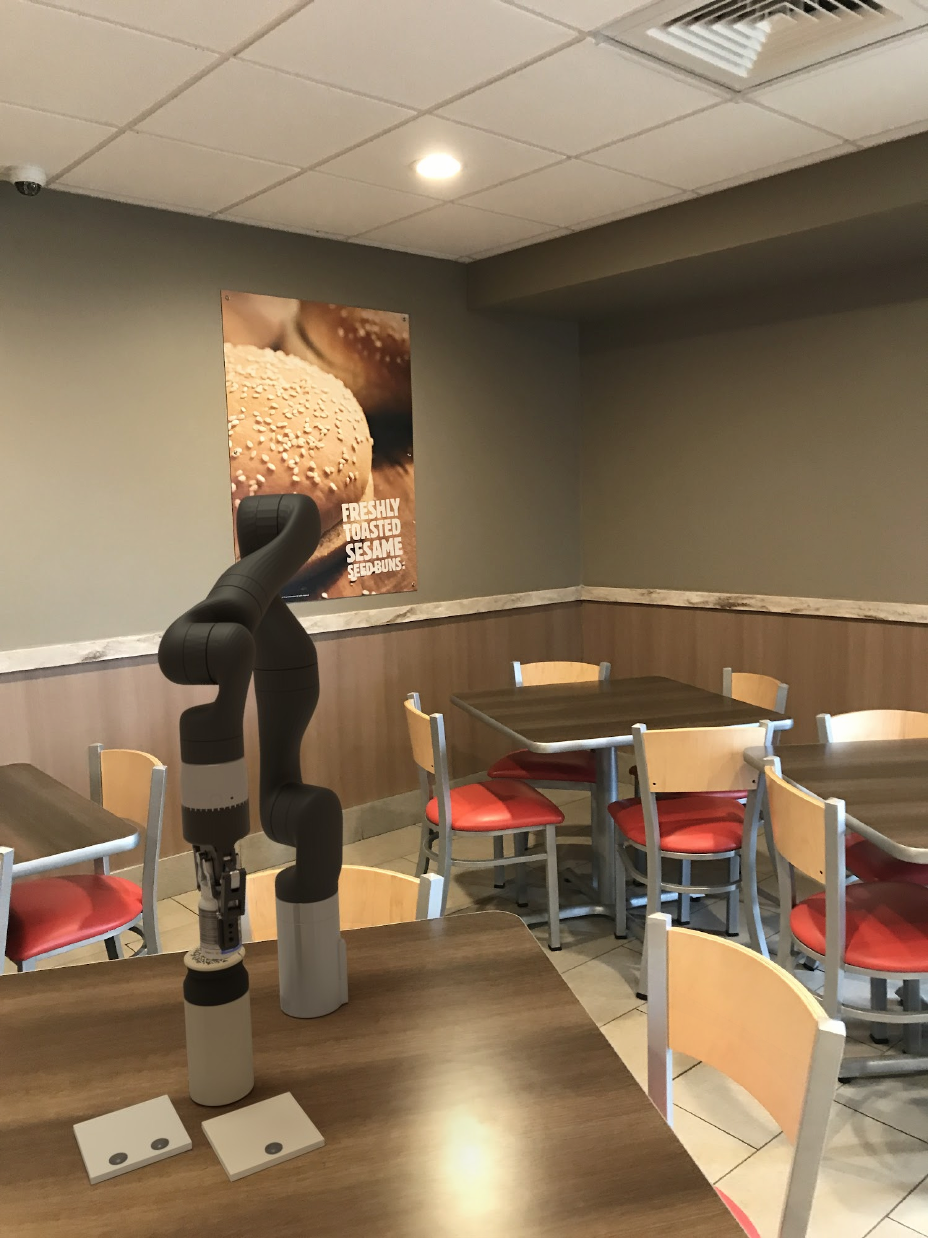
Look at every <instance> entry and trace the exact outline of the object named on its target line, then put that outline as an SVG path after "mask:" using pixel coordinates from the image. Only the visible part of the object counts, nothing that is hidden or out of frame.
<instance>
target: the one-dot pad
mask: <svg viewBox="0 0 928 1238" xmlns="http://www.w3.org/2000/svg"><path fill="white" fill-rule="evenodd" d="M201 1130H202V1132H203V1133H204V1135H205V1137H206V1139H207V1140H208V1142H209V1144H210V1147H212V1150H213V1152H214V1153H215V1155H216V1157H217V1158H218V1160H219V1162H220V1165H221V1166H222V1168H223V1170H224V1171H225V1173H226V1175H227V1177H228V1180H230V1182H231V1183H232V1182H234V1181H237V1180H239V1179H242V1178H244V1177H248V1176H249V1175H252V1174H255V1173H258V1172H260V1171H263V1170H265V1169H268V1168H270V1167H274V1166H276V1165H279V1164H280V1163H281V1164H282V1163H283V1162H286V1161H288V1160H291V1159H293V1158H296V1157H299V1156H301V1155H304V1154H306V1153H309V1152H312V1151H315V1150H317V1149H320V1148H322V1147H324V1146H325V1138H324V1137H323V1135H322V1134H321V1133H320V1131H319V1130H318V1128H317V1127H316V1125H315V1124H314V1123H313V1122H312V1120H311V1119H310V1117H309V1116H308V1115H307V1113H306V1112H305V1111H304V1110H303V1108H302V1107H301V1106H300V1105H299V1103H298V1102H297V1100H296V1099H295V1098H294V1096H293V1095H292V1093H291V1092H290V1091H287V1092H284V1093H281V1094H279V1095H278V1094H277V1095H276V1096H273V1097H271V1098H267V1099H265V1100H264V1099H263V1100H261V1101H259V1102H256V1103H253V1104H250V1105H248V1106H244V1107H241V1108H239V1109H235V1110H234V1111H233V1110H232V1111H230V1112H227V1113H224V1114H222V1115H219V1116H215V1117H212V1118H209V1119H207V1120H204V1121H202V1122H201Z"/></svg>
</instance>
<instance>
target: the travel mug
mask: <svg viewBox="0 0 928 1238" xmlns="http://www.w3.org/2000/svg"><path fill="white" fill-rule="evenodd" d="M245 955H246V949H245V947H244V946H243V945H242V948H241V950H240V951H239V952H238V953H236V954H235V955H233V956H230V957H227V958H221V959H213V958H207V957H204V956H203V955H202V954H201V949H200V945H198V946H195V947H193V948H192V949H190V950H189V951H188V952H186V954H185V955H184V957H183V963H184V965H185V966H186V968H187V973H186V975H185V977H184V979H183V982H182V987H183V1005H184V1021H185V1024H184V1025H185V1036H186V1037H185V1039H186V1054H187V1055H186V1056H187V1057H186V1058H187V1071H188V1073H187V1074H188V1075H187V1076H188V1086H189V1087H188V1089H189V1091H188V1092H189V1097H190V1098H191V1100H192V1101H194V1102H195V1103H197V1104H199V1105H204V1106H208V1107H209V1106H210V1107H211V1106H212V1107H213V1106H219V1107H220V1106H225V1105H228V1104H231V1103H234V1102H237V1101H239V1100H241V1099H242V1098H244V1097H245V1096H247V1095H248V1094H249V1093H250V1092H251V1091H252V1089H253V1087H254V1085H255V1078H254V1077H255V1074H254V1072H255V1071H254V1056H253V1055H254V1054H253V1053H254V1052H253V1037H252V1035H253V1034H252V1033H253V1032H252V1016H251V1000H250V999H251V997H250V995H251V994H250V978H249V977H250V975H249V971H248V970H247V968H246V966H245V965H244V963H243V962H244V958H245Z"/></svg>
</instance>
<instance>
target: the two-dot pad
mask: <svg viewBox="0 0 928 1238" xmlns="http://www.w3.org/2000/svg"><path fill="white" fill-rule="evenodd" d="M180 1118H181V1117H179V1115H178V1112H177V1111H176V1109H175V1107H174V1105H173V1103H172V1102H171V1099H170V1097H169V1095H168V1094H164V1095H161V1096H158V1097H155V1098H152V1099H149V1100H146V1101H143V1102H140V1103H137V1104H133V1105H131V1106H130V1105H129V1106H128V1107H125V1108H121V1109H117V1110H115V1111H113V1112H112V1111H111V1112H110V1113H105V1114H103V1115H100V1116H97V1117H93V1118H91V1119H87V1120H85V1121H82V1122H79V1123H76V1124H74V1125H72V1129H73V1134H74V1136H75V1140H76V1143H77V1146H78V1148H79V1151H80V1152H79V1153H80V1154H81V1158H82V1160H83V1164H84V1166H85V1169H86V1173H87V1175H88V1178H89V1183H90V1184H91V1185H92V1186H93V1185H96V1184H98V1183H100V1182H104V1181H106V1180H108V1179H112V1178H115V1177H118V1176H119V1175H123V1174H125V1173H129V1172H131V1171H134V1170H136V1169H139V1168H142V1167H145V1166H148V1165H150V1164H153V1163H156V1162H159V1161H162V1160H164V1159H167V1158H170V1157H172V1156H175V1155H178V1154H181V1153H183V1152H186V1151H190V1150H191V1149H193V1142H192V1140H191V1137H190V1135H189V1134H188V1132H187V1130H186V1128H185V1126H184V1124H183V1122H182V1120H181V1119H180Z"/></svg>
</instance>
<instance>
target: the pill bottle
mask: <svg viewBox="0 0 928 1238" xmlns="http://www.w3.org/2000/svg"><path fill="white" fill-rule="evenodd" d="M215 888H216V890H218V891H220V890H221V886H220V887H217V886H216V887H215ZM201 895H202V897H201ZM229 906H233V904H232V901H231V902H229V903H228V907H229ZM197 909H198V926H199V946H200V949H201V954H202V955H203V956H204V957H207V958H213V959H221V958H227V957H230V956H233V955H235V954H236V953H238V952H239V951H240V950H241V948H242V946H243V938H242V937H243V936H242V935H243V934H242V916H238V928H239V945H238V947H236V948H233V949H229V950H225V951H222V950H221V949H220V948H219V946H218V928H217V917H216V908H215V901H214V899H211V898H210V896H209V890H208V882H207V879H204V880H203V881H202V882H201V891H200V898H199V900H198V903H197Z"/></svg>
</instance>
